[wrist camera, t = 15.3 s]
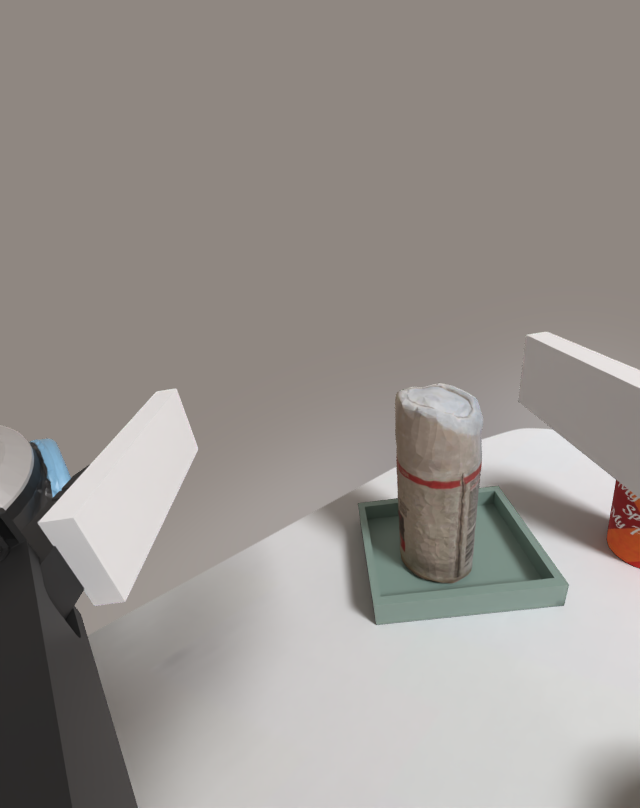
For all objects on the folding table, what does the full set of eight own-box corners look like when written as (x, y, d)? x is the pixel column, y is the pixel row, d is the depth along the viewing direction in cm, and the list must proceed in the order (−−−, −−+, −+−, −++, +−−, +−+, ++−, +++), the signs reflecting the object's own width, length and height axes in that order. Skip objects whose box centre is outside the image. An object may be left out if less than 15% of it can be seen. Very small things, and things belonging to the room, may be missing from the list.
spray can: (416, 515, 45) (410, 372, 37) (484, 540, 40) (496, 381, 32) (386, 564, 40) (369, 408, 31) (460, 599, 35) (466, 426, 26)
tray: (376, 624, 35) (373, 605, 33) (360, 520, 47) (357, 503, 46) (564, 605, 34) (568, 584, 32) (496, 503, 46) (498, 485, 45)
